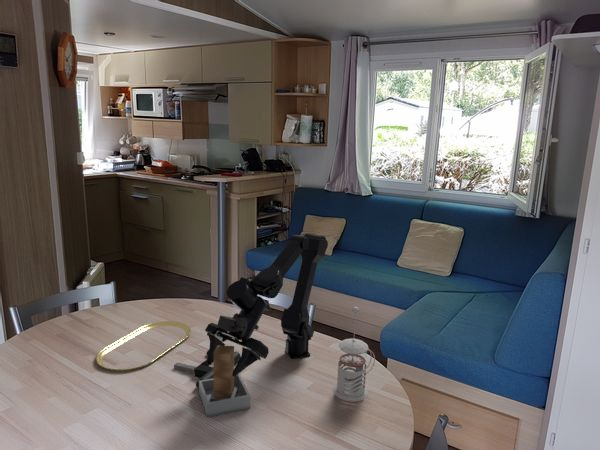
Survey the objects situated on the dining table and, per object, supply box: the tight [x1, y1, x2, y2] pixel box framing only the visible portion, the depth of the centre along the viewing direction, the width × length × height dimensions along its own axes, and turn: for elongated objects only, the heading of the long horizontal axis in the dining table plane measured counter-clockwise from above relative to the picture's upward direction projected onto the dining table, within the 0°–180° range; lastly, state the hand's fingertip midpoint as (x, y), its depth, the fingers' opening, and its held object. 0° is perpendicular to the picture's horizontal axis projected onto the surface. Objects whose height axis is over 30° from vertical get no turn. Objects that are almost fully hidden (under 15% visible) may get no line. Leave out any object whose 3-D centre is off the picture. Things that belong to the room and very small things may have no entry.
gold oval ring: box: [95, 320, 192, 372], centre depth 150 cm, size 19×35×2 cm, turn 159°
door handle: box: [173, 349, 242, 390], centre depth 137 cm, size 3×20×16 cm
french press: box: [332, 306, 376, 403], centre depth 126 cm, size 10×12×25 cm
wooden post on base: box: [210, 345, 238, 402], centre depth 120 cm, size 6×6×14 cm
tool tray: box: [198, 373, 251, 418], centre depth 121 cm, size 11×11×4 cm
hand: (220, 370), depth 119 cm, fingers open, 9 cm apart
